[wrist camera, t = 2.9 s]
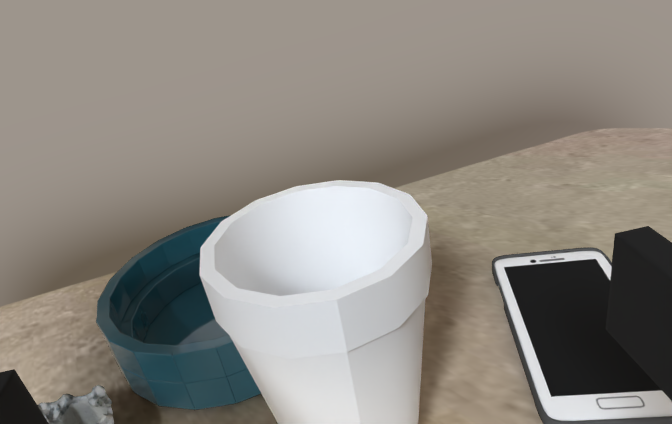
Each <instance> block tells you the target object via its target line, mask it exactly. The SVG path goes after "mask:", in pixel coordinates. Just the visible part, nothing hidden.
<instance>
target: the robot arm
mask: <svg viewBox="0 0 672 424" xmlns="http://www.w3.org/2000/svg"><path fill="white" fill-rule="evenodd" d="M605 329H606V330H607V331H608V333H609V334H610V335H611V336H612V337H613V338H614V339H615V340H616V341H617V342H618V343H619V345H620V346H621V347H622V348H623V349H624V350H625V351H626V352H627V353H628V354H629V355H630V356H631V358H632V359H633V360H634V361H635V362H636V363H637V364H638V365H639V366H640V367H641V368H642V369H643V371H644V372H645V373H646V374H647V375H648V376H649V377H650V378H651V379H652V380H653V381H654V382H655V384H656V385H657V386H658V387H659V388H660V389H661V390H662V391H663V392H664V393H665V394H666V395H667V397H668V398H669V399H670V400H671V401H672V243H671V242H670V241H669V240H667V239H666V238H664V237H663V236H662V235H660V234H659V233H657V232H656V231H654V230H653V229H652V228H650V227H649V226H646V227H642V228H638V229H633V230H629V231H624V232H620V233H615V239H614V249H613V259H612V269H611V279H610V288H609V298H608V308H607V318H606V328H605ZM0 424H49V423H48V422H47V420H46V418H45V417H44V415H43V414H42V412H41V411H40V409H39V407H38V406H37V404H36V403H35V401H34V400H33V398H32V396H31V395H30V393H29V392H28V390H27V389H26V387H25V385H24V384H23V382H22V381H21V379H20V377H19V376H18V374H17V373H16V371H15V370H10V371H5V372H1V373H0Z"/></svg>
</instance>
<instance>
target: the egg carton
mask: <svg viewBox="0 0 672 424" xmlns="http://www.w3.org/2000/svg"><path fill="white" fill-rule="evenodd" d="M110 404H112V402H111V400H110V398H109V397H108V396H107V394H106V392H105V389H104V387H103V386H99V385H98V386H95V387H94V388H93V389H92V392H91V393H90V394H87V395H84V396H78V397H74V396H72V395H70V394H63V396H62V397H61V398H60V399H58V400H57V401H55V402H51V403H45V402H44V403H40V404H39V405H37V406H38V407H39V409H40V411H41V412H42V414H43V415H44V417H45V418H46V420H47V422H48V423H49V424H115V423H114V420H113V413H112V409H111V405H110Z"/></svg>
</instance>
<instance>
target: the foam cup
mask: <svg viewBox="0 0 672 424" xmlns="http://www.w3.org/2000/svg"><path fill="white" fill-rule="evenodd" d="M431 268H432V258H431V247H430V236H429V226H428V216H427V215H426V213H425V212H424V211H423V210H422V208H421V207H420V206H419V205H418V204H417V202H416V201H415V200H414V199H413V198H412V196H411V195H410V194H407V193H405V192H402V191H399V190H397V189H394V188H391V187H388V186H385V185H383V184H380V183H377V182H361V181H344V180H335V181H329V182H322V183H315V184H308V185H301V186H295V187H292V188H290V189H286V190H284V191H281V192H278V193H275V194H272V195H270V196H266V197H264V198H261V199H258V200H255V201H253V202H252V203H250V204H249V205H247V206H245V207H244V208H242V209H241V210H239V211H237V212H236V213H234V214H233V215H231V216H229V217H228V218H226V219H224V220H223V221H221V222H220V224H219V225H218V226H217V227H216V229H215V230H214V231H213V232H212V234H211V235H210V236H209V237H208V239H207V240H206V241H205V243H204V244H203V245H202V246H201V248H200V278H201V281H202V283H203V286H204V289H205V292H206V295H207V297H208V300H209V303H210V306H211V308H212V311H213V314H214V317H215V320H216V322H217V323H218V324H219V325H220V326H221V327H222V328H223V329H224V330H225V331H226V332H227V333H228V334H229V335H230V337H231V339H232V341H233V343H234V344H235V346H236V348H237V350H238V352H239V354H240V355H241V357H242V359H243V361H244V363H245V365H246V366H247V368H248V370H249V372H250V374H251V375H252V377H253V379H254V381H255V383H256V385H257V386H258V388H259V390H260V392H261V394H262V395H263V397H264V399H265V401H266V403H267V405H268V406H269V408H270V410H271V412H272V414H273V416H274V417H275V419H276V421H277V423H278V424H418V419H419V401H420V384H421V366H422V349H423V331H424V314H425V298H426V297H427V296H428V292H429V284H430V276H431Z"/></svg>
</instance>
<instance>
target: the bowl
mask: <svg viewBox="0 0 672 424" xmlns="http://www.w3.org/2000/svg"><path fill="white" fill-rule="evenodd" d="M230 216H231V215H230ZM228 217H229V216H224V217H219V218H214V219H211V220H208V221H205V222H202V223H199V224H195V225H192V226H189V227H186V228H183V229H181V230H179V231H177V232H175V233H173V234H171V235H169V236H166V237H164V238H162V239H160V240H158V241H157V242H155V243H153V244H152V245H150V246H149V247H147V248H146V249H144V250H143V251H141V252H140V253H138V254H137V255H136V256H134V257H132V258H131V259H130V260H129V261H128V262H127V263H126V264H125V265H124V266H123V267H122V268H121V269H120V270H119V271H118V272H117V273H116V274H115V275H114V276H113V277H112V278H111V279H110V280H109V282H108V284H107V285H106V287H105V289H104V291H103V292H102V294H101V296H100V298H99V300H98V303H97V318H96V323H97V325H98V327H99V329H100V331H101V333H102V335H103V337H104V339H105V341H106V343H107V345H108V347H109V349H110V351H111V353H112V355H113V357H114V359H115V361H116V363H117V365H118V367H119V369H120V371H121V373H122V374H123V376H124V378H125V379H126V381H127V382H128V384H129V386H130V387H131V389H132V390H133V392H134V393H136V394H138V395H140V396H142V397H143V398H145V399H147V400H149V401H151V402H153V403H155V404H157V405H158V406H165V407H174V408H182V409H191V410H195V409H196V410H199V409H205V408H211V407H217V406H223V405H229V404H235V403H239V402H241V401H244V400H246V399H249V398H251V397H254V396H256V395H259V394H261V392H260V390H259V388H258V386H257V385H256V383H255V381H254V379H253V377H252V375H251V374H250V372H249V370H248V368H247V366H246V365H245V363H244V361H243V359H242V357H241V355H240V354H239V352H238V350H237V348H236V346H235V344H234V343H233V341H232V339H231V337H230V335H229V334H228V333H227V332H226V331H225V330H224V329H223V328H222V327H221V326H220V325H219V324H218V323H217V322H216V320H215V317H214V314H213V311H212V308H211V306H210V303H209V300H208V297H207V295H206V292H205V289H204V286H203V283H202V281H201V278H200V248H201V246H202V245H203V244H204V243H205V241H206V240H207V239H208V237H209V236H210V235H211V234H212V232H213V231H214V230H215V229H216V227H217V226H218V225H219V224H220V222H221V221H223V220H224V219H226V218H228Z"/></svg>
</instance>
